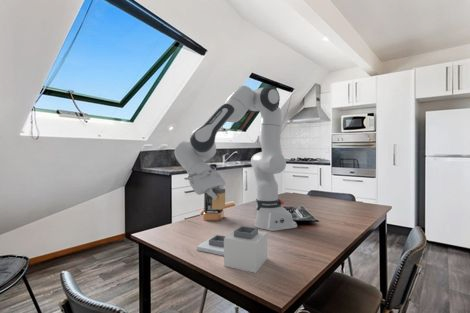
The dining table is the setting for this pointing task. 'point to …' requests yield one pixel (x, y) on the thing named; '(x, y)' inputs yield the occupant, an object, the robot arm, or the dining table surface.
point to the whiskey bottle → (208, 211)
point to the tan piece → (219, 199)
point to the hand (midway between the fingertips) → (220, 197)
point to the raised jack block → (245, 249)
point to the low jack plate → (213, 245)
